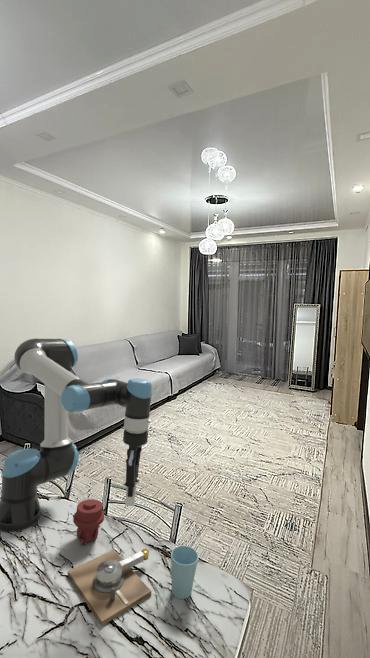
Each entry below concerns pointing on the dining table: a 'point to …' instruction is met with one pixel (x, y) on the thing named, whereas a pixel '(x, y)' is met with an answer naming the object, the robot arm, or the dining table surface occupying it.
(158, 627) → the dining table surface
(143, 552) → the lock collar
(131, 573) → the post board
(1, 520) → the robot arm
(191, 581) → the cup
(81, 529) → the mechanical component
